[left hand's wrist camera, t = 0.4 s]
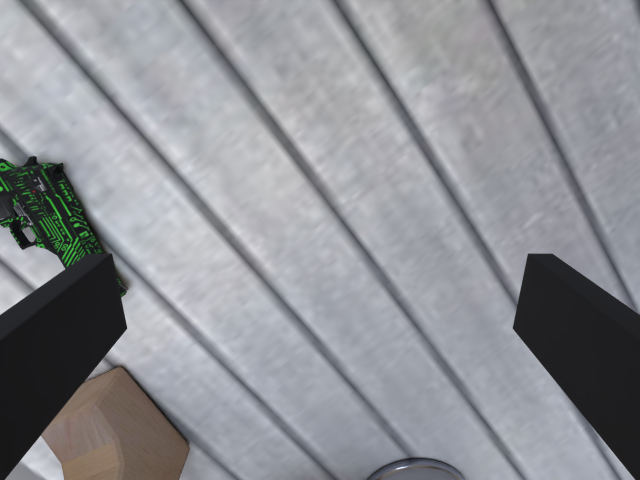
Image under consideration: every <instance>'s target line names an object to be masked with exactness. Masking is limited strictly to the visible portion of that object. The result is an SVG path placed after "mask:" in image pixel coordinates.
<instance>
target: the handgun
mask: <svg viewBox="0 0 640 480" xmlns="http://www.w3.org/2000/svg"><path fill="white" fill-rule="evenodd" d="M63 166H64V165H63V163H60V164H53V163H44V164H38V163H37V157H36V156H32V157H29V159H28V161H27V163H26V164H25V165H24V166H21V167H16V166H14V165H13V164H11V163H10V162H8V161H7V160H4V159H2V158H1V159H0V225H1V226H2V227H3V228H4V227H10V232H11V234H12V235H13V237H14V238H15V240H16V241H17V243H18V245H19V246H20V248H21V249H22V250H24V249H26V248H27V247H30V246H33V245H36V246H37V247H41V248H45V249H47V250H49V251H51V252H52V253H54V254H56V255H57V256H58V257H59V259H60V261H61V262H62V264H63V266H64V267H65V269H67V268H68V267H69V266H71V265H72V264H74V263H75V262H77V261H78V260H79V259H81V258H82V257H84V256H85V255H87V254H104V252H103V250H102V248H101V247H100V245H99V243H98V241H97V240H96V238H95V236H94V234H93V233H92V231H91V229H90V228H89V226H88V224H87V222H86V221H85V219H84V217H83V216H82V214H81V212H80V211H82V210H83V208H82V206H81V204H80V203H79V201H78V199H77V198H76V196H75V194H74V192H73V188H72V186H71V184H70V183H69V181H68V179H67V177H66V176H65V174H64V172H63ZM21 221H23V222H24V223H23V224H22V225H21ZM26 227H30V228H31V230H32V231H33V233H34V234H35V236H36V239H35V241H34V242H30V241H29V240H28V239H27V237H26V236H25V234H24V233H23V231H22V230H23V229H24V228H26ZM116 276H117V274H116ZM117 281H118V286H119V291H120V296H121V297H122V296H124V295H125V294H126V292H127V290H128V288H127V287H125V286H124V285H122V283H121V281H120V279H119V278H118V276H117Z"/></svg>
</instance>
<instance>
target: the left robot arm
mask: <svg viewBox="0 0 640 480" xmlns="http://www.w3.org/2000/svg"><path fill="white" fill-rule="evenodd" d="M126 329H127V325H126V320H125V315H124V310H123V305H122V301H121V296H120V291H119V286H118V281H117V276H116V271H115V266H114V261H113V257H112V254H87V255H85V256H84V257H82V258H81V259H79V260H78V261H77V262H75V263H74V264H72V265H71V266H69V267H68V268H67V269H65V270H64V271H62V272H61V273H59V274H58V275H57V276H55V277H54V278H52V279H51V280H50V281H48V282H47V283H45V284H44V285H42V286H41V287H40V288H38V289H37V290H35V291H34V292H32V293H31V294H30V295H28V296H27V297H25V298H24V299H22V300H21V301H20V302H18V303H17V304H15V305H14V306H13V307H11V308H10V309H8V310H7V311H5V312H4V313H3V314H1V315H0V480H5V479H6V477H7V476H8V475H9V474H10V472H11V471H12V470H13V469H14V467H15V466H16V465H17V464H18V463H19V461H20V460H21V459H22V458H23V456H24V455H25V454H26V453H27V451H28V450H29V449H30V448H31V447H32V445H33V444H34V443H35V442H36V440H37V439H38V438H39V437H40V435H41V434H42V433H43V432H44V430H45V429H46V428H47V427H48V426H49V424H50V423H51V422H52V421H53V419H54V418H55V417H56V416H57V414H58V413H59V412H60V411H61V410H62V408H63V407H64V406H65V405H66V403H67V402H68V401H69V400H70V398H71V397H72V396H73V395H74V393H75V392H76V391H77V390H78V389H79V387H80V386H81V385H82V384H83V382H84V381H85V380H86V379H87V377H88V376H89V375H90V374H91V372H92V371H93V370H94V369H95V368H96V366H97V365H98V364H99V363H100V361H101V360H102V359H103V358H104V356H105V355H106V354H107V353H108V352H109V350H110V349H111V348H112V347H113V345H114V344H115V343H116V342H117V340H118V339H119V338H120V337H121V335H122V334H123V333H124V332H125V331H126ZM513 329H514V331H515V332H516V333H517V334H518V335H519V337H520V338H521V339H522V340H523V342H524V343H525V344H526V345H527V347H528V348H529V349H530V350H531V352H532V353H533V354H534V355H535V356H536V358H537V359H538V360H539V361H540V363H541V364H542V365H543V366H544V368H545V369H546V370H547V371H548V372H549V374H550V375H551V376H552V377H553V379H554V380H555V381H556V382H557V384H558V385H559V386H560V387H561V389H562V390H563V391H564V392H565V393H566V395H567V396H568V397H569V398H570V400H571V401H572V402H573V403H574V405H575V406H576V407H577V408H578V410H579V411H580V412H581V413H582V414H583V416H584V417H585V418H586V419H587V421H588V422H589V423H590V424H591V426H592V427H593V428H594V429H595V430H596V432H597V433H598V434H599V435H600V437H601V438H602V439H603V440H604V442H605V443H606V444H607V445H608V447H609V448H610V449H611V450H612V451H613V453H614V454H615V455H616V456H617V458H618V459H619V460H620V461H621V463H622V464H623V465H624V466H625V467H626V469H627V470H628V471H629V472H630V474H631V475H632V476H633V477H634V479H635V480H640V315H639V314H637V313H636V312H635V311H633V310H632V309H630V308H629V307H627V306H626V305H625V304H623V303H622V302H620V301H619V300H618V299H616V298H615V297H613V296H612V295H610V294H609V293H608V292H606V291H605V290H603V289H602V288H600V287H599V286H598V285H596V284H595V283H593V282H592V281H590V280H589V279H588V278H586V277H585V276H583V275H582V274H581V273H579V272H578V271H576V270H575V269H573V268H572V267H571V266H569V265H568V264H566V263H565V262H563V261H562V260H561V259H559V258H558V257H556V256H555V255H553V254H528V257H527V261H526V266H525V271H524V276H523V281H522V286H521V291H520V296H519V300H518V305H517V310H516V315H515V320H514V325H513ZM368 480H465V478H464V477H463V476H462V475H461V474H460V473H459V472H458V471H457V470H456V469H454V468H453V467H451V466H449V465H447V464H445V463H442V462H439V461H434V460H428V459H410V460H404V461H399V462H396V463H393V464H390V465H388V466H386V467H384V468H382V469H380V470H379V471H377V472H376V473H375V474H373V475H372V476H371V477H370V478H369V479H368Z"/></svg>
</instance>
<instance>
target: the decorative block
mask: <svg viewBox="0 0 640 480" xmlns="http://www.w3.org/2000/svg"><path fill="white" fill-rule="evenodd" d="M41 436H42V438H43V439H44V440H45V442H46V443H47V444H48V446H49V447H50V449H51V450H52V451H53V453H54V454H55V456H56V457H57V458H58V460H59V461H60V462H61V465H62V470H63V475H64V480H179V478H180V475H181V473H182V470H183V467H184V464H185V461H186V459H187V456H188V453H189V450H190V447H189V445H188V443H187V442H186V441H185V440H184V439H183V438H182V436H181V435H180V434H179V433H178V432H177V431H176V429H175V428H174V427H173V426H172V425H171V424H170V422H169V421H168V420H167V419H166V418H165V417H164V415H163V414H162V413H161V412H160V411H159V410H158V408H157V407H156V406H155V405H154V404H153V403H152V401H151V400H150V399H149V398H148V397H147V396H146V394H145V393H144V392H143V391H142V390H141V389H140V387H139V386H138V385H137V384H136V383H135V382H134V380H133V379H132V378H131V377H130V376H129V375H128V373H127V372H126V371H125V370H124V369H123V368H121V367H117V368H115V369H113V370H111V371H109V372H107V373H104V374H102V375H100V376H98V377H96V378H94V379H92V380H89V381H87V382H85V383H83V384H82V385H81V386H80V387H79V389H78V390H77V391H76V392H75V393H74V395H73V396H72V397H71V398H70V400H69V401H68V402H67V403H66V405H65V406H64V407H63V408H62V410H61V411H60V412H59V413H58V414H57V416H56V417H55V418H54V419H53V421H52V422H51V423H50V424H49V426H48V427H47V428H46V429H45V430H44V432H43V433H42V434H41Z"/></svg>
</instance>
